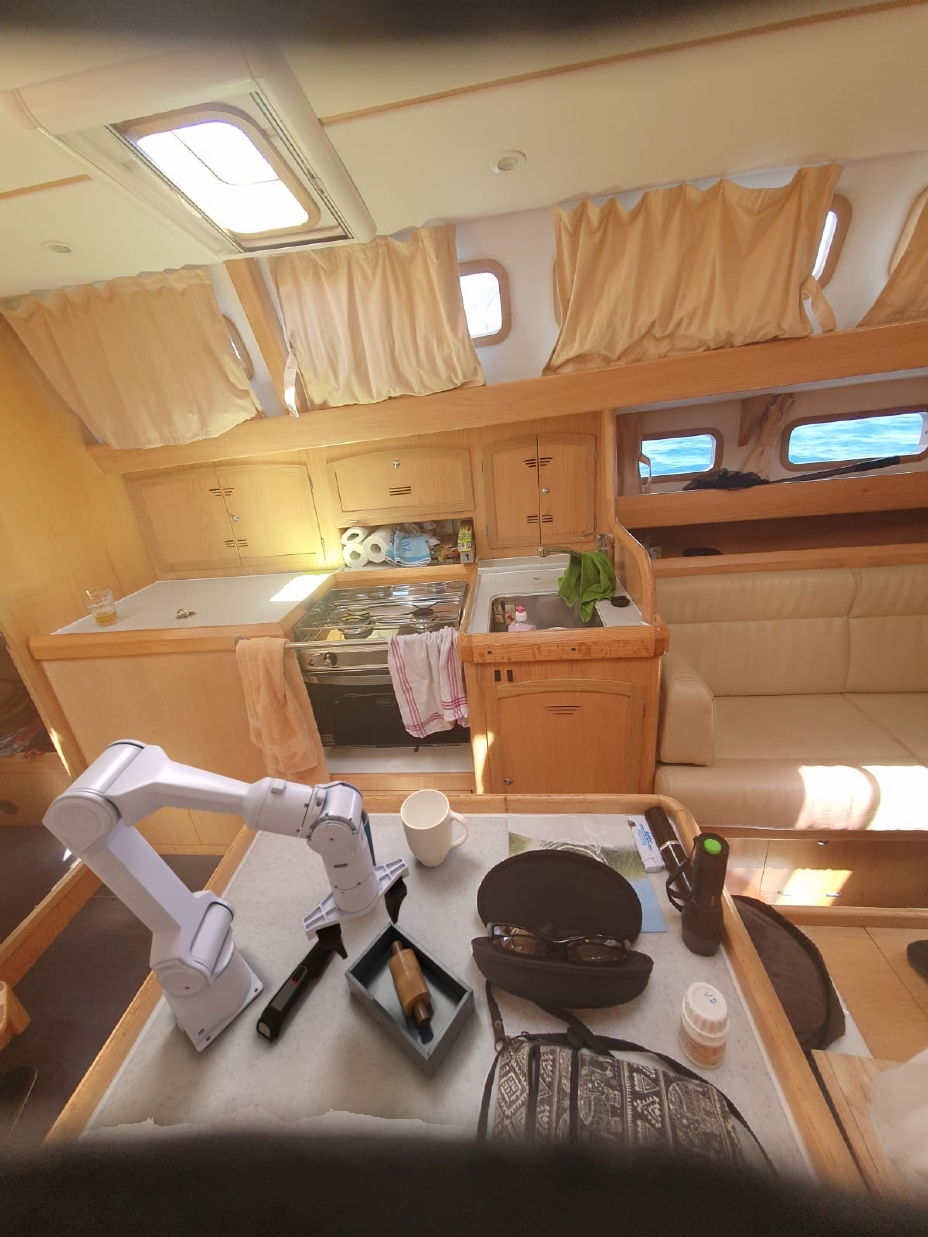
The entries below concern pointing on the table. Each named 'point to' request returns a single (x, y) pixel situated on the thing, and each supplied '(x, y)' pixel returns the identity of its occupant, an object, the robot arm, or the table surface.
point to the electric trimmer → (292, 991)
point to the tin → (382, 1001)
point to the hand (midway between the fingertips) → (368, 934)
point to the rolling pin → (410, 983)
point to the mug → (430, 826)
